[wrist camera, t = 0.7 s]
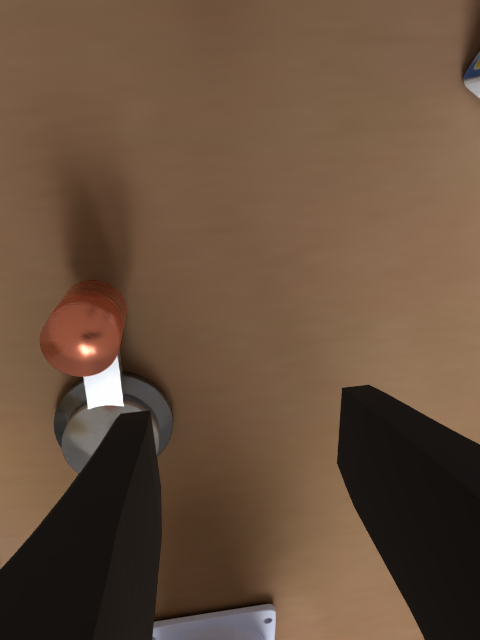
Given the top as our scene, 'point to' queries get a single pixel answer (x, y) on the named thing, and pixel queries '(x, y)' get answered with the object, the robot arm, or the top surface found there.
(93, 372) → the crank
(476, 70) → the ink cartridge box
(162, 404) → the bearing
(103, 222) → the top surface
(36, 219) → the top surface
